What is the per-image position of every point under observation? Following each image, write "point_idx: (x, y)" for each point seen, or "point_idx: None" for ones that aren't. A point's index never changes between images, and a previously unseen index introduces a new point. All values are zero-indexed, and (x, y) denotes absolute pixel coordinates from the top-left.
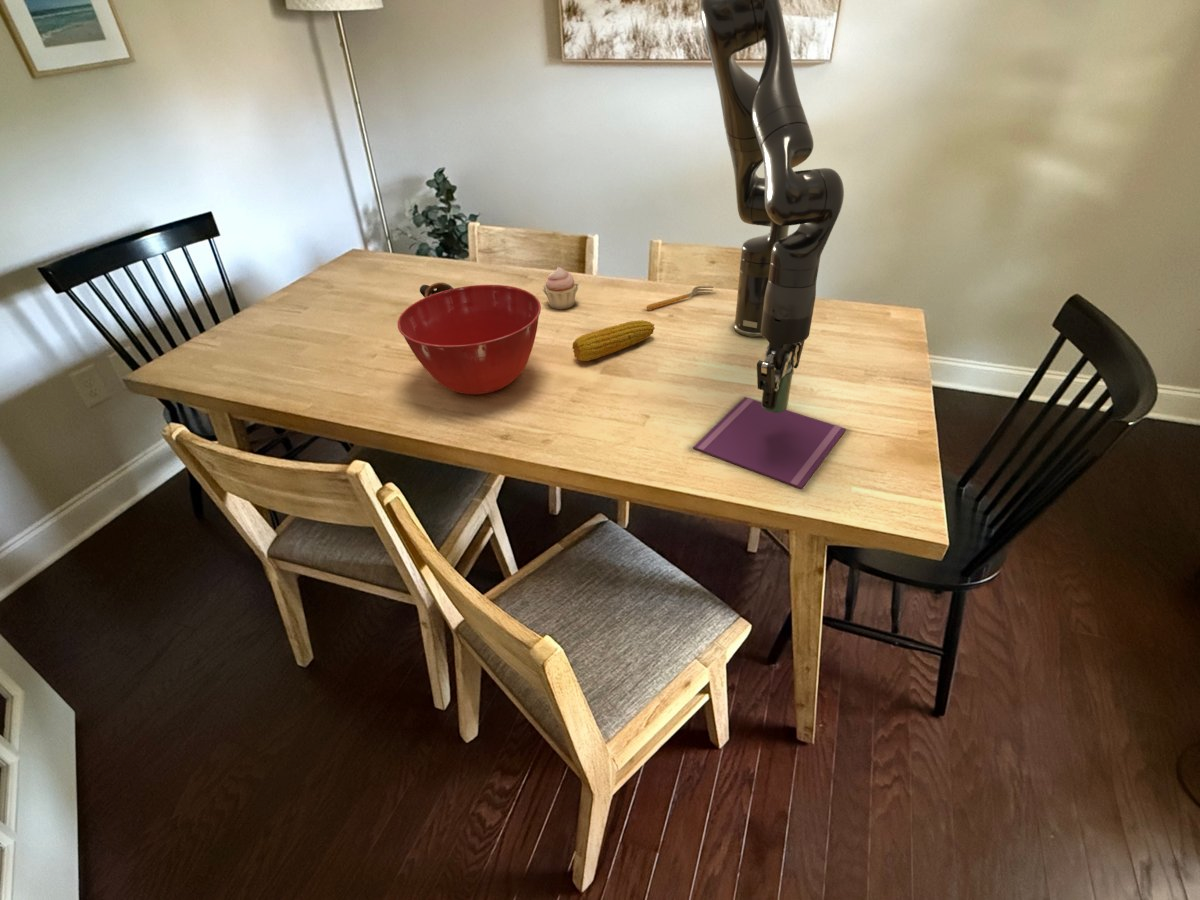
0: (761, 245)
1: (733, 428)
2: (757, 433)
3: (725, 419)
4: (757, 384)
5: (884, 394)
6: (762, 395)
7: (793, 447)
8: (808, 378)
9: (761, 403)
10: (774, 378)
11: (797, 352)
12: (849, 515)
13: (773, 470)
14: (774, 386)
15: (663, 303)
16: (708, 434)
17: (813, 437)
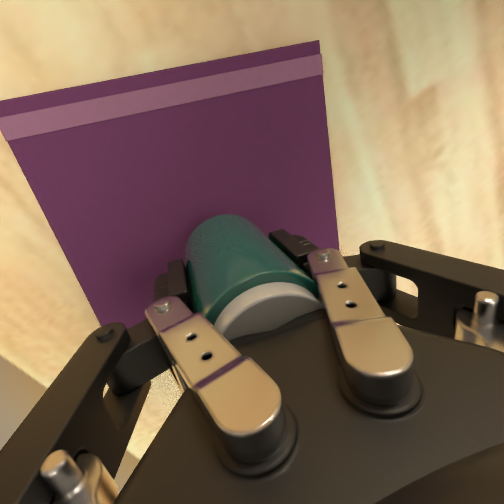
0: None
1: (168, 128)
2: (201, 190)
3: (184, 77)
4: (73, 355)
5: (480, 260)
6: (199, 241)
7: None
8: (478, 114)
9: (195, 231)
10: (125, 446)
11: (427, 331)
12: (139, 440)
13: (118, 308)
14: (145, 393)
15: None
16: (82, 92)
17: None
